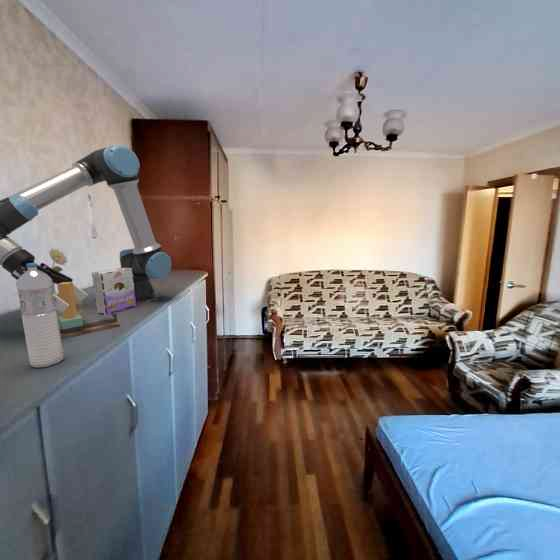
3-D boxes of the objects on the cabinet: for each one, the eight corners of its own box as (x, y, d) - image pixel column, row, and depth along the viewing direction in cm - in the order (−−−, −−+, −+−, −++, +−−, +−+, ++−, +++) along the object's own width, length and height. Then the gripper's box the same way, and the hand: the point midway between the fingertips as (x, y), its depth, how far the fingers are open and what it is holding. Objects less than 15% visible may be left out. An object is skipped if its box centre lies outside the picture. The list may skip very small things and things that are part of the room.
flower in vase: (49, 313, 119) (39, 250, 114) (30, 311, 123) (19, 249, 118) (81, 305, 131) (73, 247, 126) (62, 303, 135) (54, 247, 130)
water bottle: (58, 366, 74) (42, 264, 69) (24, 370, 72) (5, 266, 67) (68, 355, 80) (54, 261, 76) (38, 358, 78) (21, 262, 74)
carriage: (79, 320, 101) (73, 280, 98) (83, 325, 95) (77, 283, 93) (59, 324, 97) (53, 282, 95) (62, 329, 92) (55, 285, 89)
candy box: (127, 305, 131) (123, 267, 128) (137, 306, 128) (133, 267, 125) (96, 313, 118) (91, 271, 116) (106, 315, 116) (100, 272, 113)
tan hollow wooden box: (80, 317, 114) (76, 291, 112) (84, 321, 108) (80, 294, 106) (53, 321, 109) (49, 294, 107) (56, 327, 103) (52, 298, 101)
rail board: (114, 321, 108) (113, 310, 107) (119, 326, 103) (118, 315, 102) (51, 334, 96) (49, 322, 95) (54, 340, 91) (52, 327, 90)
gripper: (28, 261, 102) (84, 302, 107) (-29, 273, 78) (46, 324, 83) (44, 245, 102) (98, 286, 108) (-9, 251, 78) (65, 304, 83)
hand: (76, 303), depth 95 cm, fingers open, 13 cm apart
